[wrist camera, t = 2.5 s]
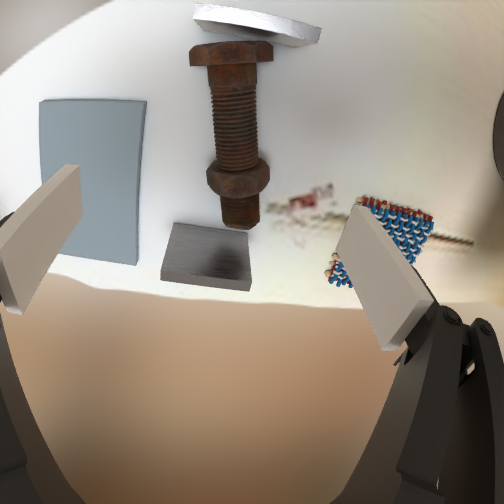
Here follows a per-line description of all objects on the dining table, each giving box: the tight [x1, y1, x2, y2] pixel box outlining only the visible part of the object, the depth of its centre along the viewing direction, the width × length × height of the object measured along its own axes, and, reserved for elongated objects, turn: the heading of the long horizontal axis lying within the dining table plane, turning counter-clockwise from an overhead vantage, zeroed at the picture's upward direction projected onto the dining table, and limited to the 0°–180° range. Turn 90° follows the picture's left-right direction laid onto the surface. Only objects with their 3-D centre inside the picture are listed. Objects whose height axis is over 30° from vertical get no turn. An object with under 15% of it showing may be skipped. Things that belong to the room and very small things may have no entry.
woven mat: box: [325, 197, 434, 288], centre depth 31 cm, size 10×11×2 cm
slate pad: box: [39, 99, 146, 266], centre depth 24 cm, size 10×16×1 cm, turn 168°
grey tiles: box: [160, 3, 322, 291], centre depth 21 cm, size 7×19×7 cm, turn 168°
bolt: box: [189, 41, 273, 230], centre depth 22 cm, size 6×5×15 cm
